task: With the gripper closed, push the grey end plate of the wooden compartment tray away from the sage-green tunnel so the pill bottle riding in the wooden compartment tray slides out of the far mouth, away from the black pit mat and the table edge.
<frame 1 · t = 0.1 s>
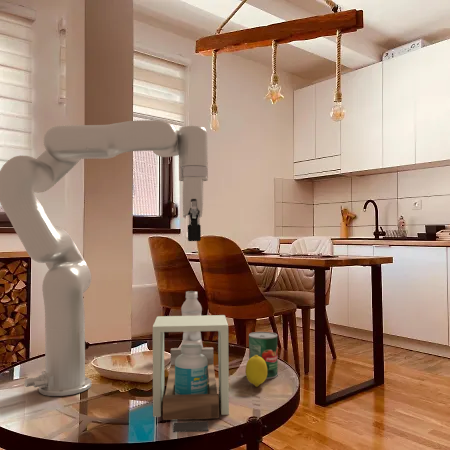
hand: (194, 240, 121), 37 cm above the table, tool pointing down, fingers open, 9 cm apart
pill bottle: (191, 406, 106), resting in wooden compartment tray
pit mat: (190, 427, 94), on the table
lemon: (256, 387, 119), on the table
tunnel: (191, 405, 106), on the table
plastic bottle: (192, 355, 150), on the table
wooden compartment tray: (191, 378, 113), point 4 cm above the table, slide at 0.0 cm
canned tomato: (263, 375, 128), on the table
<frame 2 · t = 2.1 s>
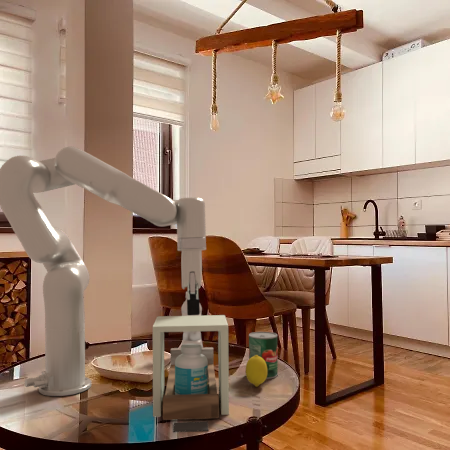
hand: (193, 314, 123), 18 cm above the table, tool pointing down, fingers closed
nothing on the table moved.
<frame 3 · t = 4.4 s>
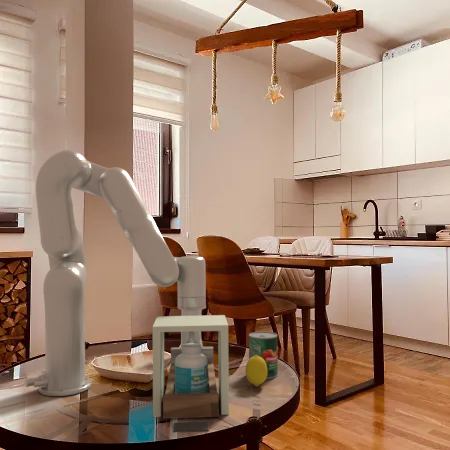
hand: (192, 371, 125), 2 cm above the table, tool pointing down, fingers closed
pill bottle: (191, 405, 106), resting in wooden compartment tray
wooden compartment tray: (191, 377, 114), point 4 cm above the table, slide at 0.8 cm, touching gripper, pill bottle
everything else where it was.
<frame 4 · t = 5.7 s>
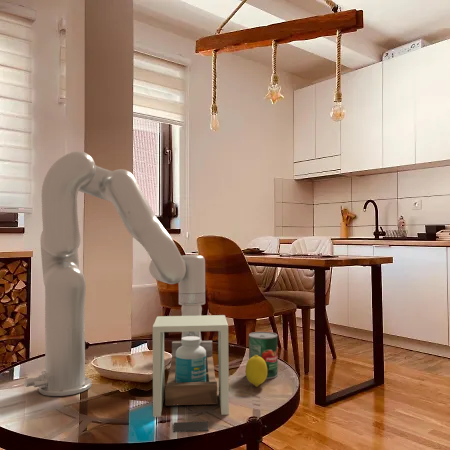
hand: (192, 363, 132), 2 cm above the table, tool pointing down, fingers closed
pill bottle: (191, 394, 114), resting in wooden compartment tray
wooden compartment tray: (191, 368, 121), point 4 cm above the table, slide at 8.0 cm, touching gripper, pill bottle
everything else where it was.
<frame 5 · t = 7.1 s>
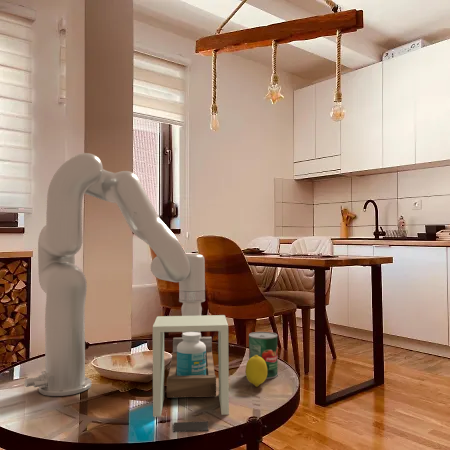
hand: (192, 358, 137), 2 cm above the table, tool pointing down, fingers closed
pill bottle: (191, 387, 119), resting in wooden compartment tray
wooden compartment tray: (192, 363, 126), point 4 cm above the table, slide at 13.0 cm, touching gripper, pill bottle
everything else where it was.
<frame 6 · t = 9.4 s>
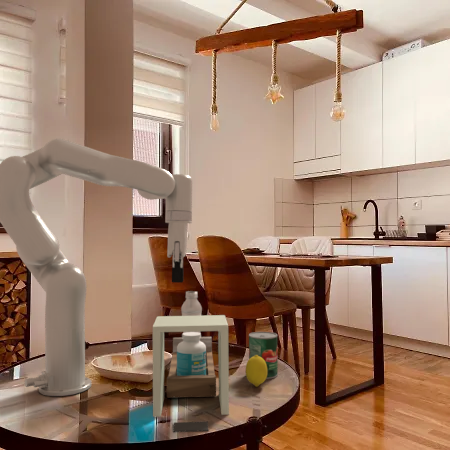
hand: (177, 282, 134), 25 cm above the table, tool pointing down, fingers closed
pill bottle: (191, 387, 119), resting in wooden compartment tray
wooden compartment tray: (192, 363, 126), point 4 cm above the table, slide at 13.0 cm
everything else where it was.
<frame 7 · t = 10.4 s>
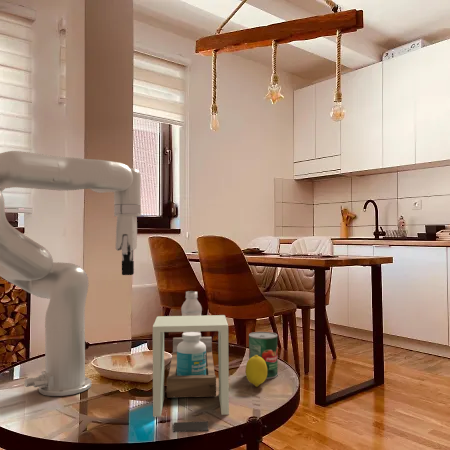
hand: (127, 274, 135), 27 cm above the table, tool pointing down, fingers closed
nothing on the table moved.
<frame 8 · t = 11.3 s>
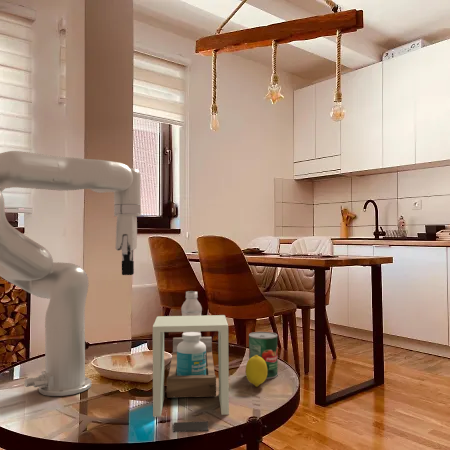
hand: (127, 274, 135), 27 cm above the table, tool pointing down, fingers closed
nothing on the table moved.
at the end: wooden compartment tray slide at 13.0 cm; pill bottle inside the target area (0.4 cm from its centre), resting in wooden compartment tray; pill bottle tilted 0° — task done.
